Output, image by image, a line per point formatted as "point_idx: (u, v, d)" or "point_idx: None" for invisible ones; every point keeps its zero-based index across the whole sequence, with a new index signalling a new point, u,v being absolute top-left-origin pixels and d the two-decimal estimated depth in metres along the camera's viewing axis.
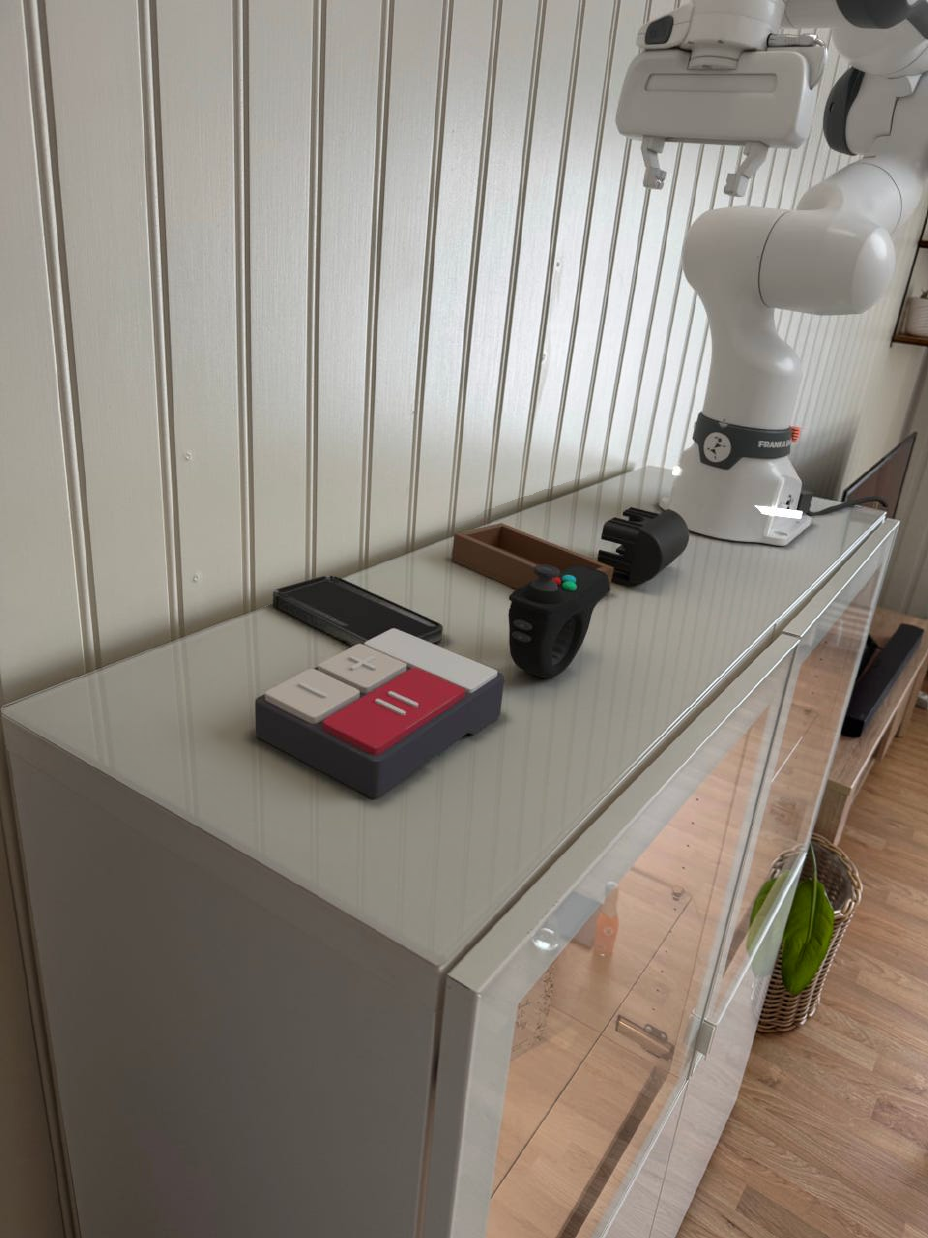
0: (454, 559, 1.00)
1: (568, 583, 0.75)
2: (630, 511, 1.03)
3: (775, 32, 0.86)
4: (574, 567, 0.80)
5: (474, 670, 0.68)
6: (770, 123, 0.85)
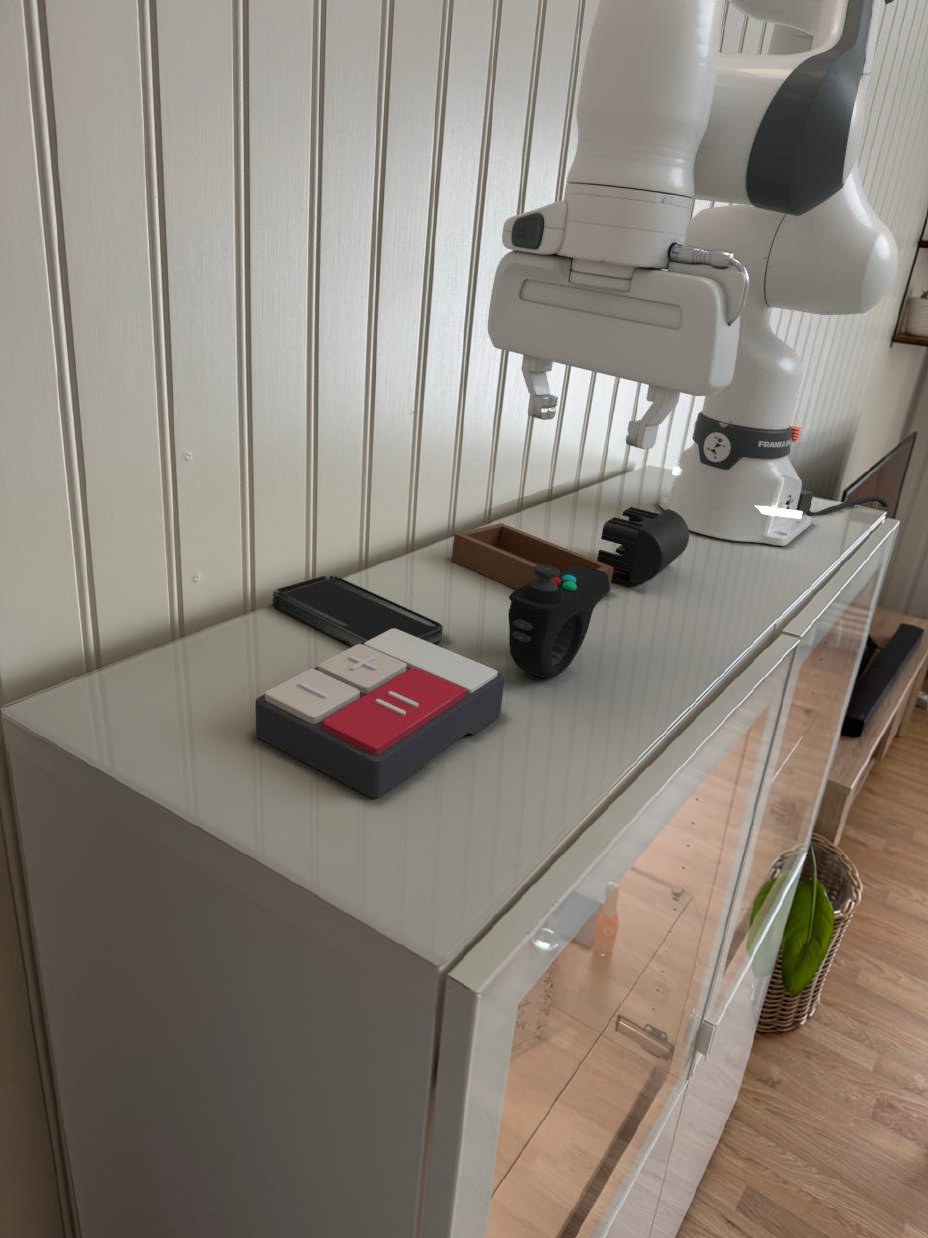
0: (454, 559, 1.00)
1: (568, 583, 0.75)
2: (630, 511, 1.03)
3: (680, 238, 0.63)
4: (574, 567, 0.80)
5: (474, 670, 0.68)
6: (677, 371, 0.63)
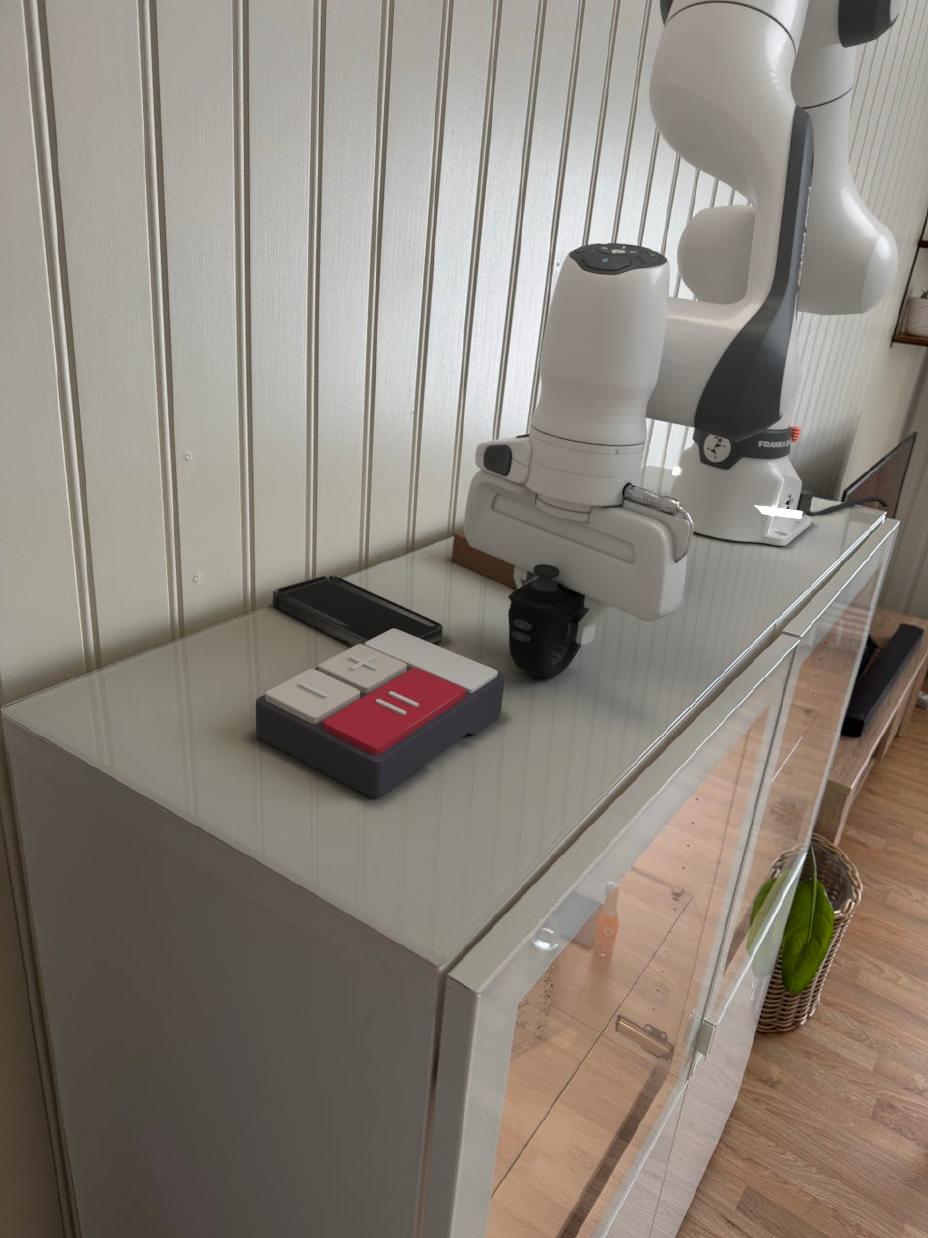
0: (454, 559, 1.00)
1: None
2: None
3: (633, 478, 0.70)
4: None
5: (474, 670, 0.68)
6: (630, 599, 0.69)
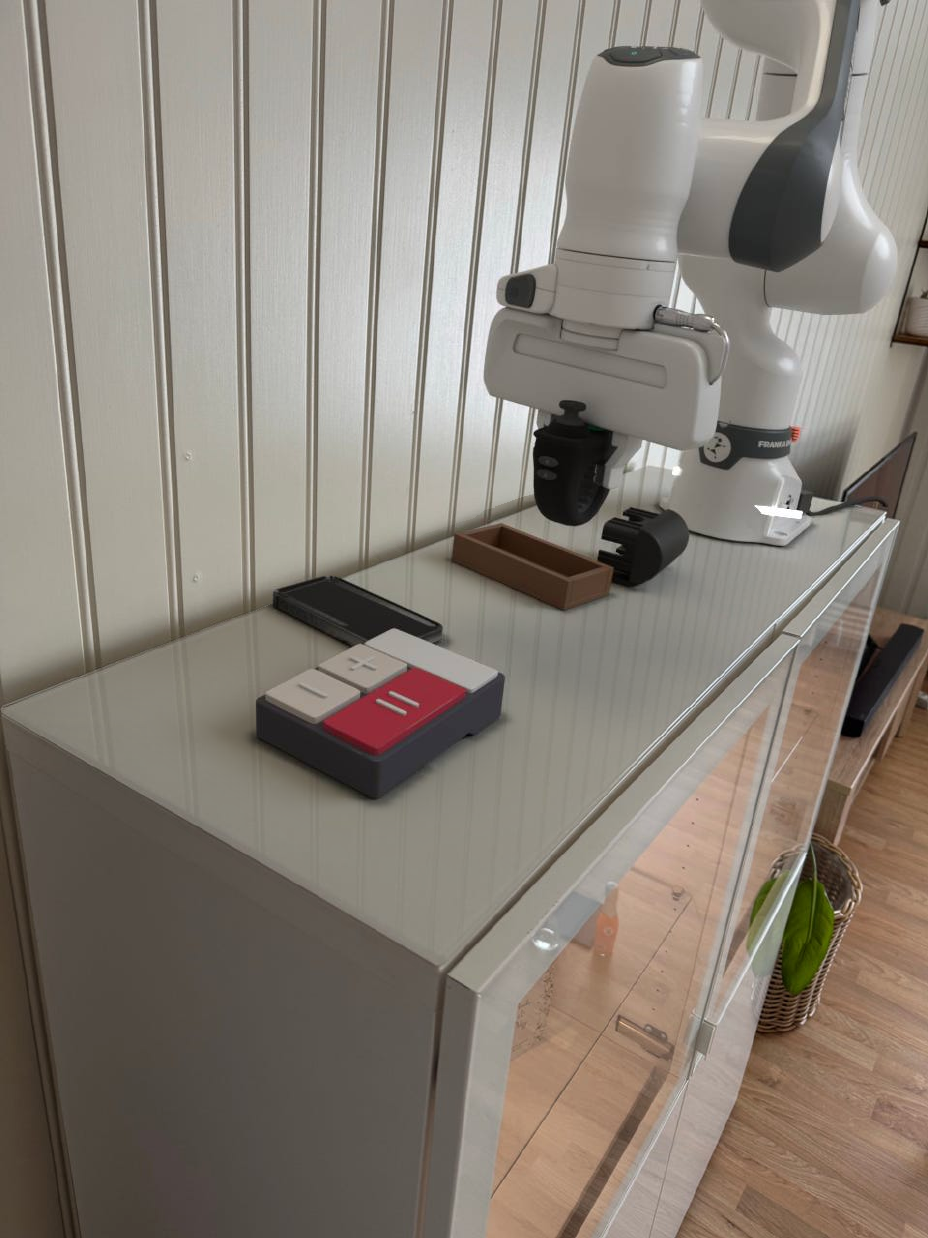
0: (454, 559, 1.00)
1: None
2: (630, 511, 1.03)
3: (664, 300, 0.66)
4: None
5: (474, 670, 0.68)
6: (662, 427, 0.66)
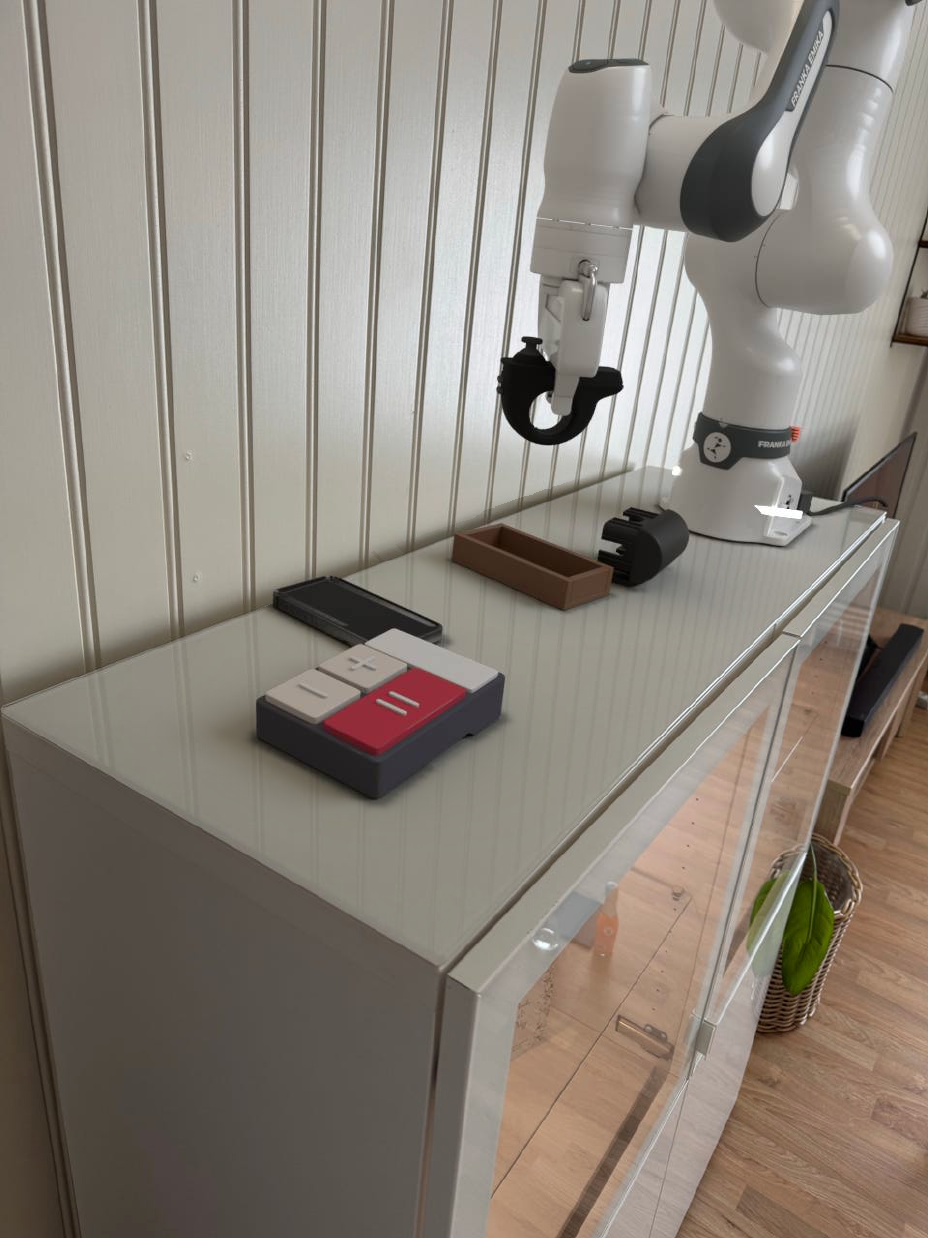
0: (454, 559, 1.00)
1: None
2: (630, 511, 1.03)
3: (593, 257, 0.81)
4: (602, 366, 0.92)
5: (474, 670, 0.68)
6: (555, 354, 0.82)
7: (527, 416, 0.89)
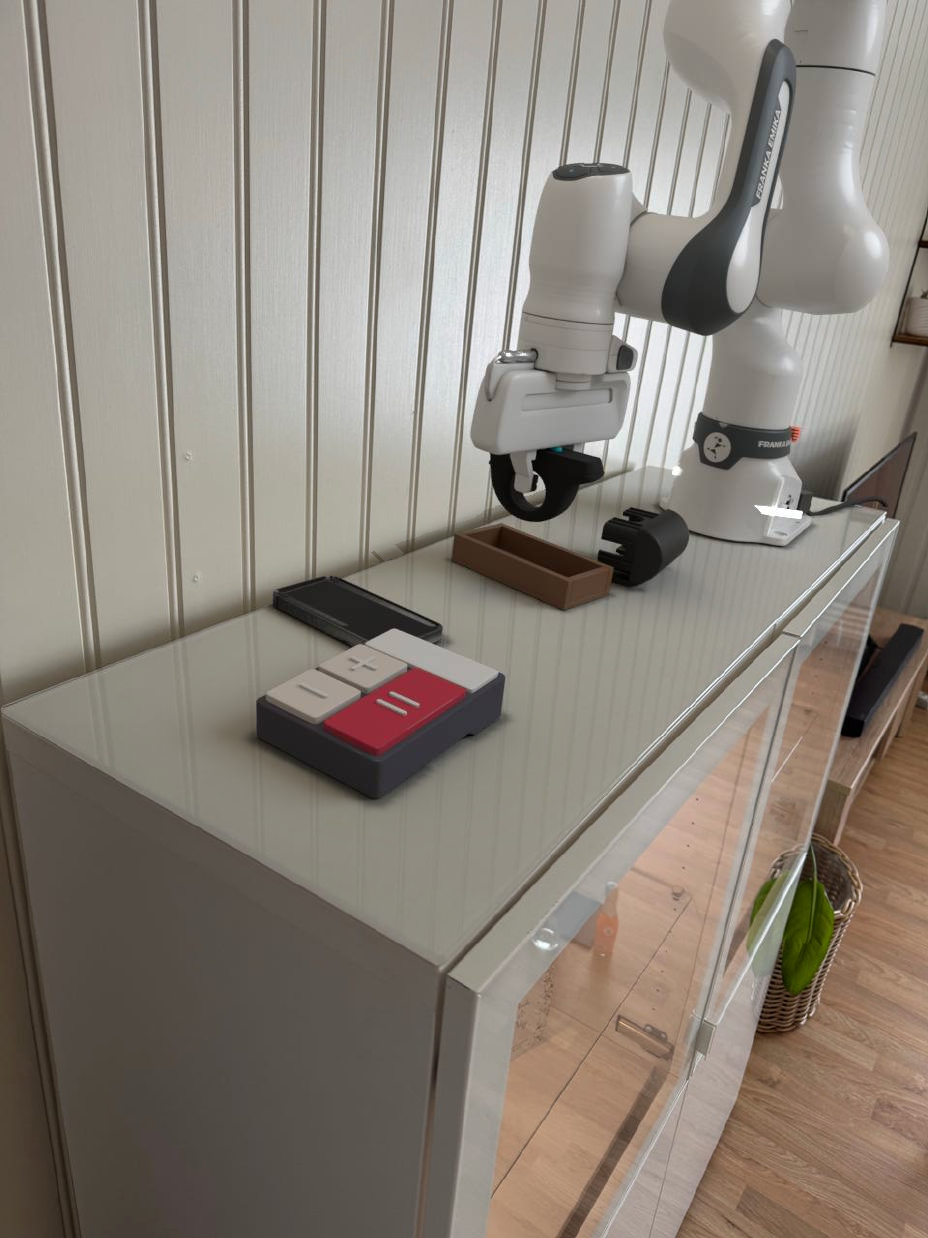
0: (454, 559, 1.00)
1: None
2: (630, 511, 1.03)
3: (540, 346, 0.85)
4: (592, 456, 0.92)
5: (475, 670, 0.68)
6: None
7: (504, 489, 0.95)
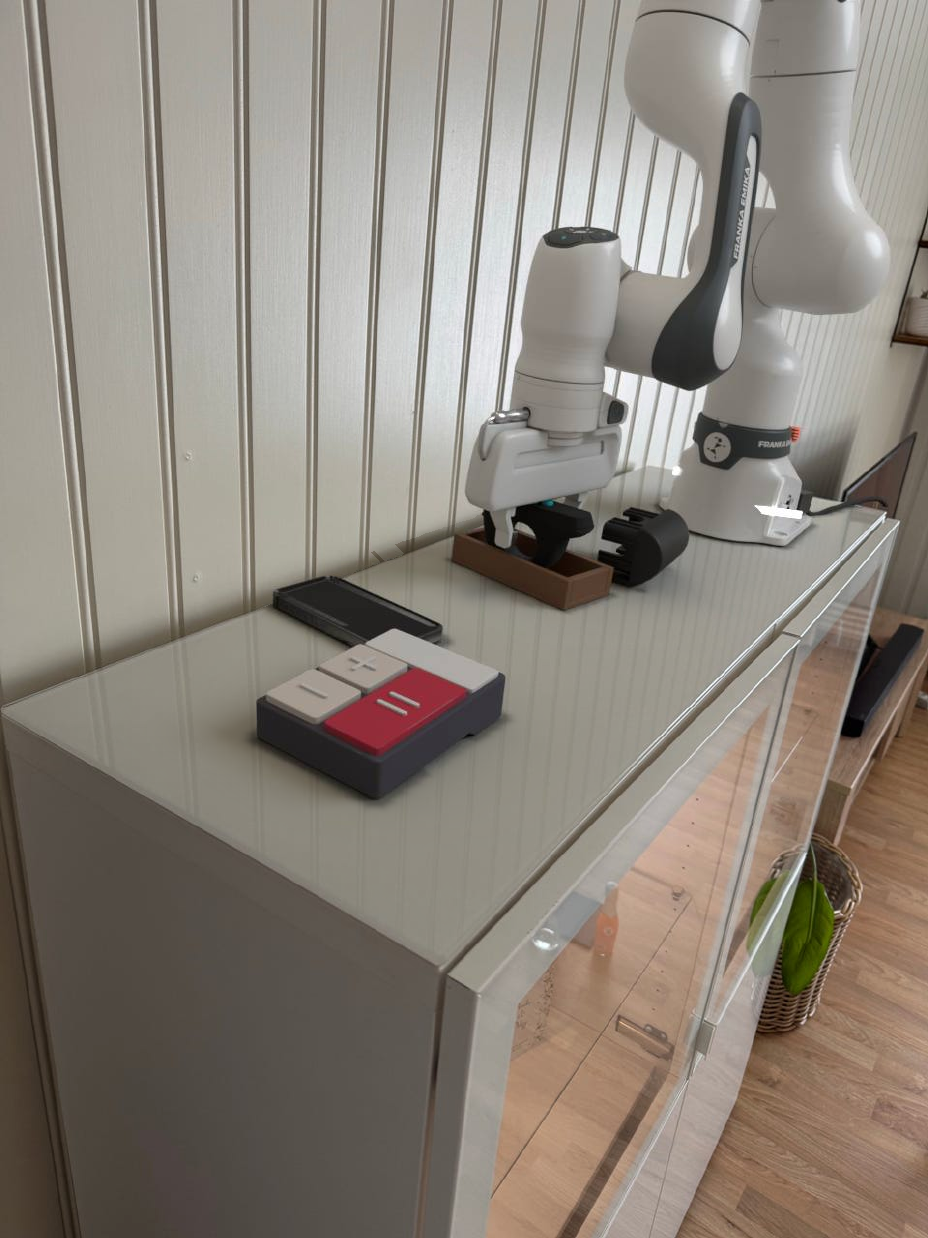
0: (454, 559, 1.00)
1: None
2: (630, 511, 1.03)
3: (532, 405, 0.88)
4: (582, 510, 0.94)
5: (475, 670, 0.68)
6: None
7: None
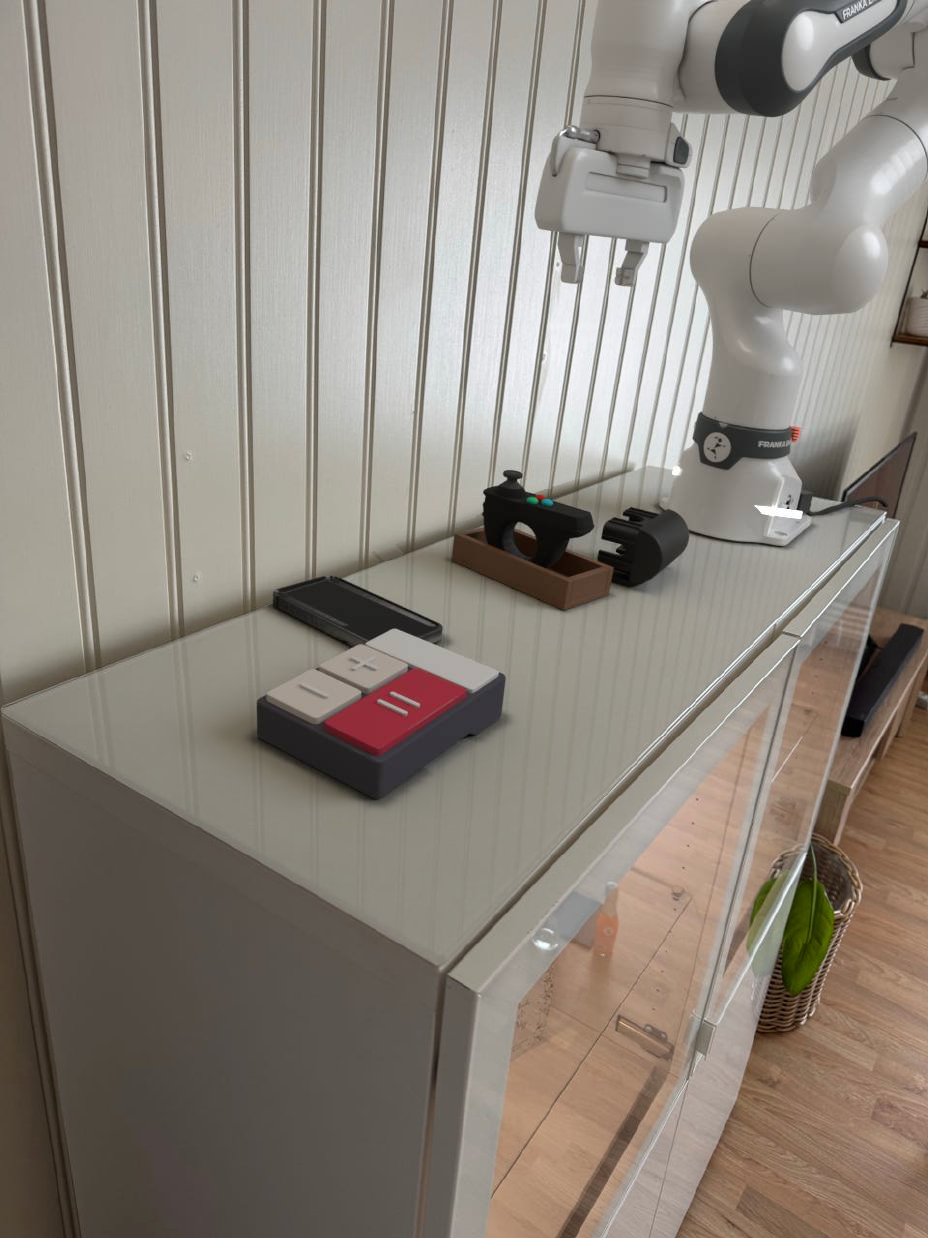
0: (454, 559, 1.00)
1: (530, 497, 0.95)
2: (630, 511, 1.03)
3: (602, 126, 0.88)
4: (582, 510, 0.94)
5: (475, 670, 0.68)
6: None
7: (497, 540, 0.97)
